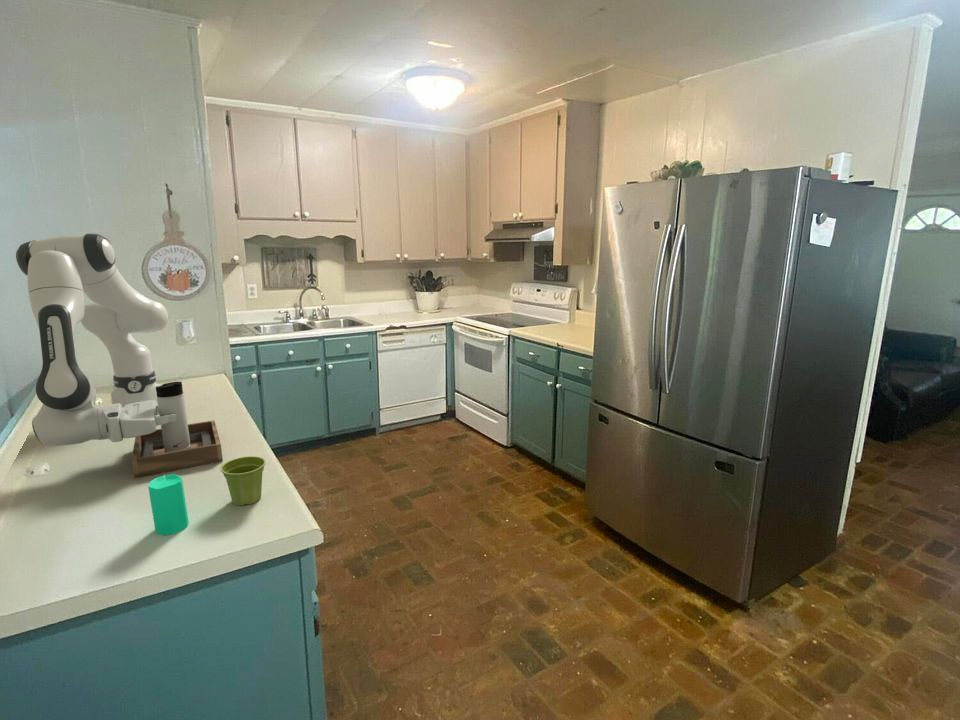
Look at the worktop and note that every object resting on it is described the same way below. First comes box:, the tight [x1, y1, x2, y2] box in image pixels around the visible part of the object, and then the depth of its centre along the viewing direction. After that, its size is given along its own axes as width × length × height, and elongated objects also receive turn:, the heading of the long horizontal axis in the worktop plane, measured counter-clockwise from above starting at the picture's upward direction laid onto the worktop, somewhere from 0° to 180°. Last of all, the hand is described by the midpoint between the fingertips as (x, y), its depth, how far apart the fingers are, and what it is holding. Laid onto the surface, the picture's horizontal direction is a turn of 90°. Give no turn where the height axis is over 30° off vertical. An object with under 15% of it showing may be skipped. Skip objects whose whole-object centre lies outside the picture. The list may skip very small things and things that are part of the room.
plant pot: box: [220, 455, 267, 506], centre depth 118 cm, size 9×9×9 cm
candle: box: [147, 473, 190, 536], centre depth 106 cm, size 6×6×12 cm
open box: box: [131, 419, 224, 479], centre depth 143 cm, size 22×20×5 cm
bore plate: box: [143, 431, 212, 457], centre depth 143 cm, size 16×16×2 cm
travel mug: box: [156, 381, 191, 453], centre depth 141 cm, size 6×7×20 cm
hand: (176, 411), depth 141 cm, fingers open, 8 cm apart
